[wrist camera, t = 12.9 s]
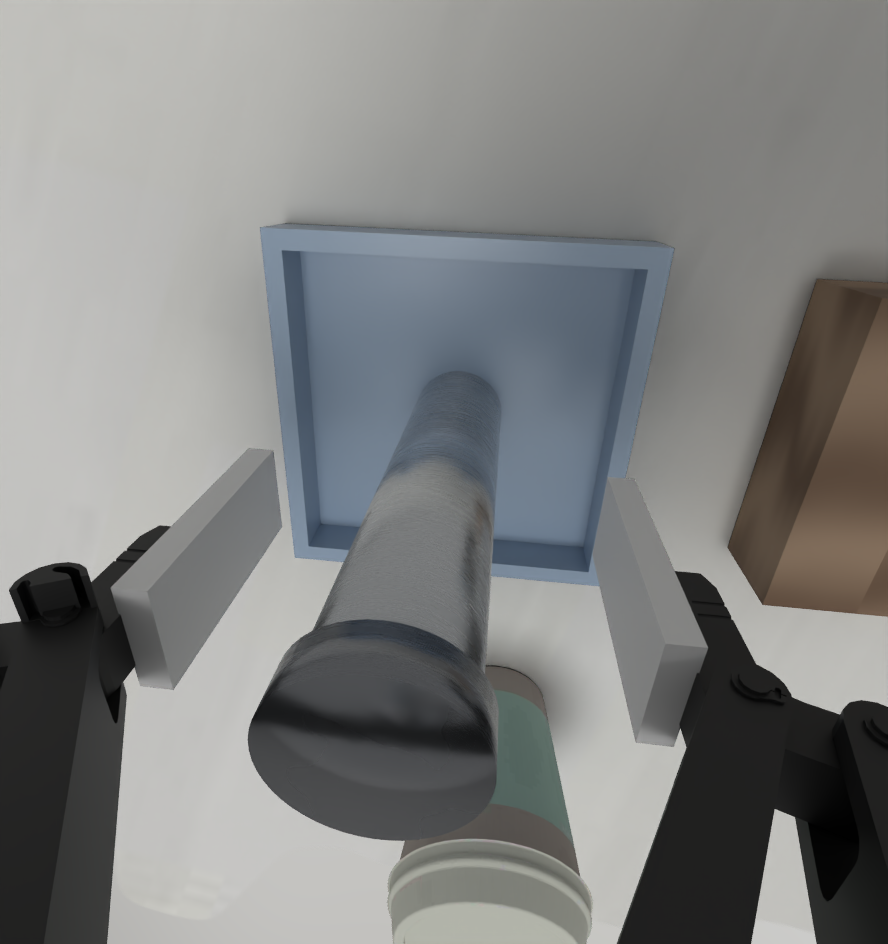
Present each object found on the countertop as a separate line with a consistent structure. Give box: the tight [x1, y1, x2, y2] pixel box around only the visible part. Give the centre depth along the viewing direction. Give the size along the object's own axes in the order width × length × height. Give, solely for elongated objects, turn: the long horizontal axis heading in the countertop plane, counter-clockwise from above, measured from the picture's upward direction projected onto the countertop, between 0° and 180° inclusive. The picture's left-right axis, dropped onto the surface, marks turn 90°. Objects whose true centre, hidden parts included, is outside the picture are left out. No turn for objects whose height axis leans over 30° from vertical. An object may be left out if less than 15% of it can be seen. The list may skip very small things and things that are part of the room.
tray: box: [260, 223, 674, 586], centre depth 23 cm, size 14×14×2 cm
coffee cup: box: [388, 666, 593, 944], centre depth 27 cm, size 9×9×12 cm
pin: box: [248, 371, 501, 841], centre depth 16 cm, size 4×4×16 cm
